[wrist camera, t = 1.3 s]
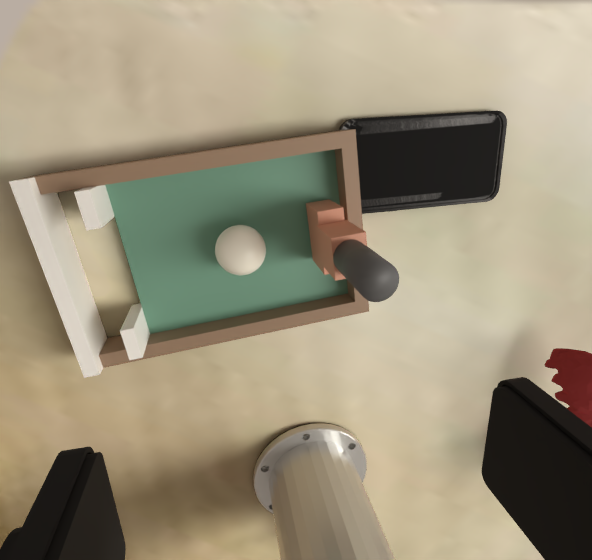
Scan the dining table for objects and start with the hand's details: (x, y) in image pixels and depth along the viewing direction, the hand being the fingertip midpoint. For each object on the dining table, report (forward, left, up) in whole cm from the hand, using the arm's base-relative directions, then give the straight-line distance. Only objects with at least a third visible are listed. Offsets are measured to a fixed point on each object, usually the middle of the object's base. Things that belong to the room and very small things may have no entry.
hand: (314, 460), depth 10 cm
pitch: (-1, +1, -27) cm, 27 cm away
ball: (-1, 0, -24) cm, 24 cm away
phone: (+3, -17, -28) cm, 32 cm away
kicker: (-1, -7, -26) cm, 26 cm away
